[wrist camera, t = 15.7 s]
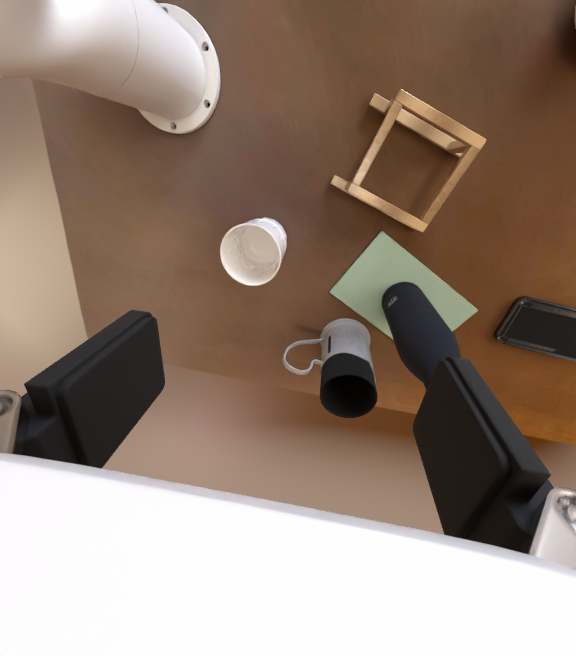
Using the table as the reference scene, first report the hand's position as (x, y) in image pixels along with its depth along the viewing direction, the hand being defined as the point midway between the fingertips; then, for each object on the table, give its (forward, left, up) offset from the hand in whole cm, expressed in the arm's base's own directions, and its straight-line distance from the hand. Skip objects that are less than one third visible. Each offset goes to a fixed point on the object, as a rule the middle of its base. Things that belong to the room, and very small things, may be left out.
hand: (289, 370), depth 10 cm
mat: (+18, -3, -38) cm, 42 cm away
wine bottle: (+18, -3, -38) cm, 42 cm away
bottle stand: (+4, +10, -38) cm, 40 cm away
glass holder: (+13, -15, -38) cm, 43 cm away
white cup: (-5, -8, -38) cm, 40 cm away
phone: (+39, +8, -38) cm, 55 cm away
